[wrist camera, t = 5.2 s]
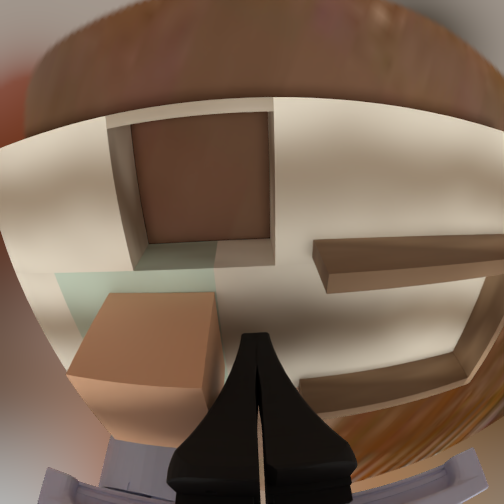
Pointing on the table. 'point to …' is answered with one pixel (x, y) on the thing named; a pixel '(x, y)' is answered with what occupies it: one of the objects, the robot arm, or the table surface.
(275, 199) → the plate
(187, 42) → the table surface
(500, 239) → the wooden frame
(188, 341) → the cube
